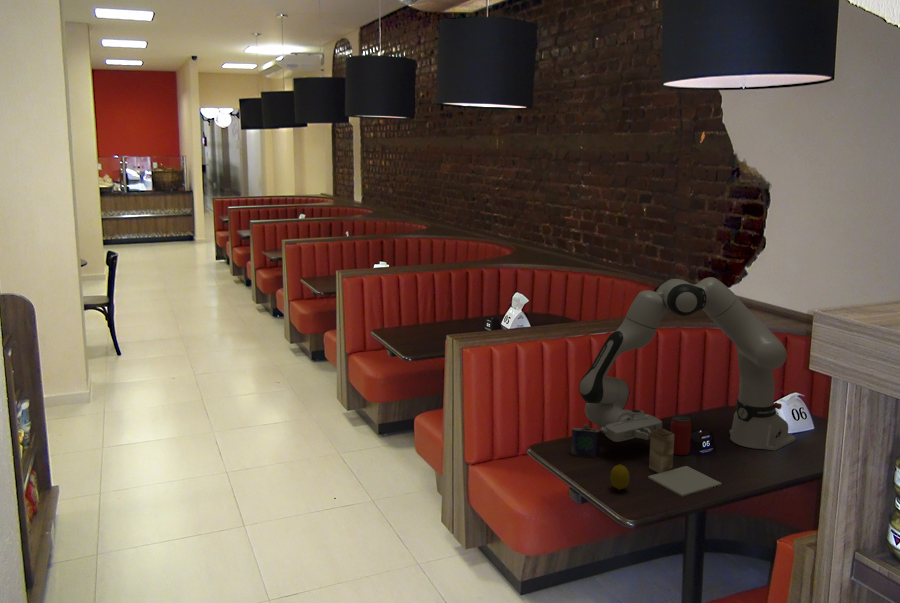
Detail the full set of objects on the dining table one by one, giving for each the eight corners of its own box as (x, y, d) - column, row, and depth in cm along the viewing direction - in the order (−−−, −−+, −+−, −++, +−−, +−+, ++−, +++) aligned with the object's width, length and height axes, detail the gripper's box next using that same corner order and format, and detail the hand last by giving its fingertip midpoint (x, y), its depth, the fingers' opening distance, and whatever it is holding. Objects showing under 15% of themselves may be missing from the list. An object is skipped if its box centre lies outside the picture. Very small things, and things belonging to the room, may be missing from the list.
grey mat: (686, 467, 225) (686, 465, 225) (721, 485, 213) (721, 483, 212) (648, 478, 218) (648, 476, 217) (682, 496, 205) (682, 494, 205)
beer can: (690, 456, 233) (693, 422, 230) (670, 455, 234) (672, 420, 232) (688, 449, 239) (690, 415, 237) (668, 447, 240) (670, 413, 238)
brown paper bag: (660, 464, 227) (662, 428, 225) (672, 470, 223) (674, 433, 220) (648, 467, 225) (650, 430, 222) (660, 473, 220) (662, 436, 218)
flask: (570, 455, 235) (571, 424, 233) (571, 451, 237) (572, 421, 235) (599, 458, 232) (600, 427, 230) (599, 454, 235) (600, 424, 233)
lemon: (615, 495, 207) (616, 469, 205) (606, 487, 212) (607, 461, 210) (632, 492, 208) (633, 467, 206) (622, 484, 213) (624, 459, 212)
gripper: (597, 419, 233) (625, 433, 221) (644, 409, 243) (674, 422, 230) (596, 437, 235) (624, 452, 222) (644, 426, 244) (673, 440, 232)
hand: (650, 436), depth 227 cm, fingers closed
